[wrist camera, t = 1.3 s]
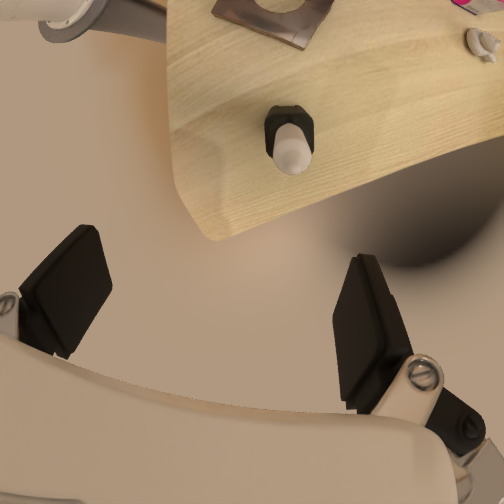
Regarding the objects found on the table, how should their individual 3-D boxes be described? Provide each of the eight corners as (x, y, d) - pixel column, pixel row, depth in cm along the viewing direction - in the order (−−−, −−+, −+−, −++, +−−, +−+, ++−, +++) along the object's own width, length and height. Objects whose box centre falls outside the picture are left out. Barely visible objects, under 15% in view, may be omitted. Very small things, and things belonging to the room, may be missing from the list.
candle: (271, 138, 40) (256, 206, 19) (268, 105, 37) (251, 132, 16) (305, 137, 39) (332, 206, 18) (304, 105, 36) (334, 131, 16)
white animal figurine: (472, 24, 22) (499, 21, 15) (491, 56, 24) (519, 59, 17) (456, 34, 24) (483, 31, 17) (476, 67, 26) (504, 70, 20)
